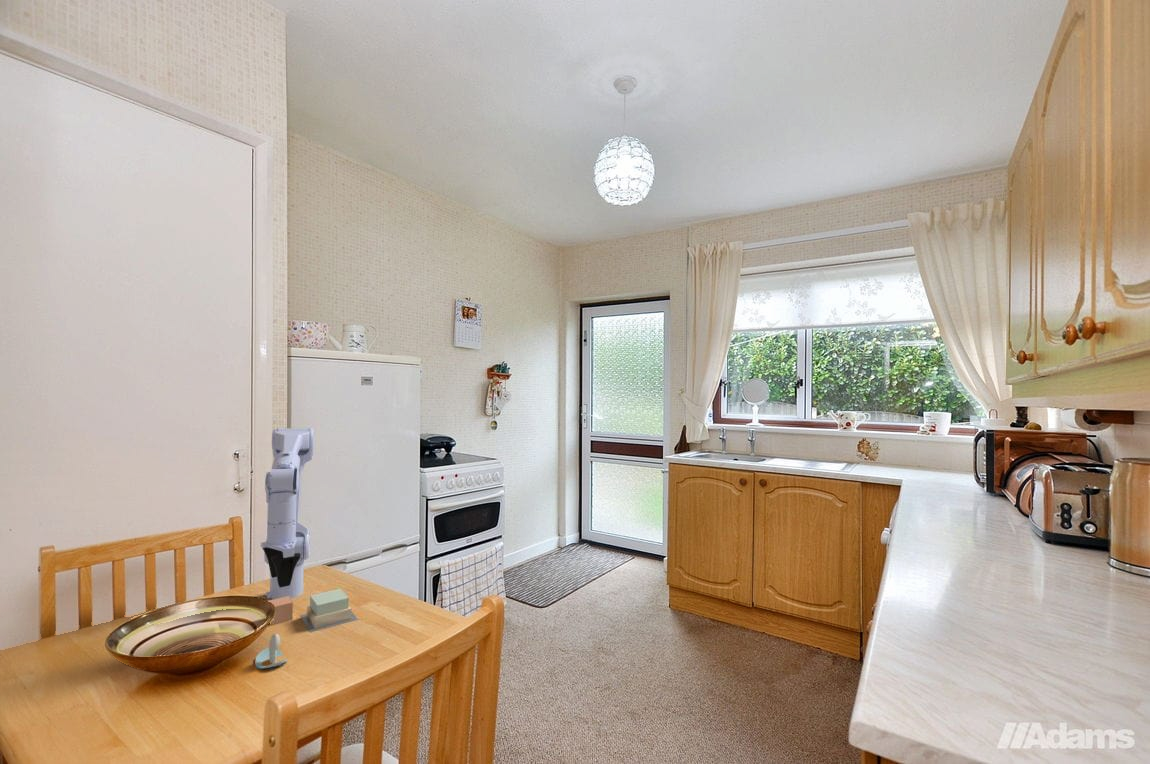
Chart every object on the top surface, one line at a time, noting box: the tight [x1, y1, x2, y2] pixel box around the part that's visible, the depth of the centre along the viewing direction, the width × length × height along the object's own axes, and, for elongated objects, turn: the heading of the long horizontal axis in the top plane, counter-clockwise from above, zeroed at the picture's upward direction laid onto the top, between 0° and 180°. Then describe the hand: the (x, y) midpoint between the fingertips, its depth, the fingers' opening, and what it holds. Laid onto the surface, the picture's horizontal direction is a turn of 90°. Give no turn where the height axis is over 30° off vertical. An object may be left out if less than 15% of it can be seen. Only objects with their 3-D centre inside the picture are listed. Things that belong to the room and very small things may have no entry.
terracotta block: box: [267, 596, 294, 626], centre depth 117 cm, size 4×4×5 cm
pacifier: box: [254, 633, 288, 669], centre depth 99 cm, size 7×6×6 cm
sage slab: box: [309, 588, 349, 616], centre depth 118 cm, size 7×7×2 cm
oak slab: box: [306, 604, 352, 628], centre depth 118 cm, size 8×8×2 cm
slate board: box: [299, 610, 359, 633], centre depth 118 cm, size 10×10×1 cm
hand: (280, 581), depth 117 cm, fingers open, 7 cm apart
